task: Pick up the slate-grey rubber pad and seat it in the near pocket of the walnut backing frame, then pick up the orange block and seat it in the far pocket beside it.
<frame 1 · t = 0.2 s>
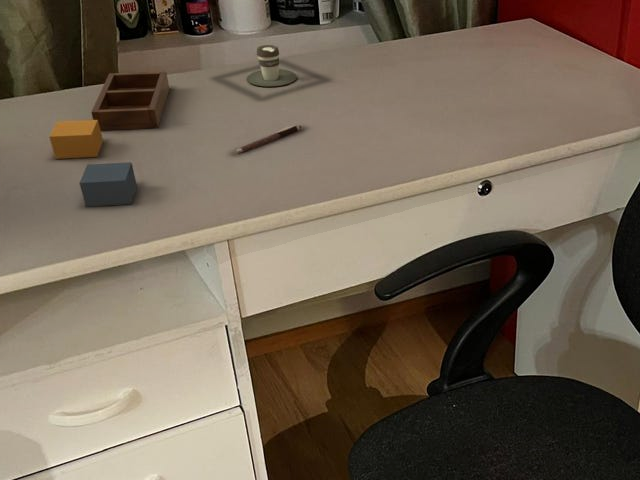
orange block: (79, 150, 112), on the table
coffee cup: (271, 80, 134), on the table
back frame: (134, 108, 123), on the table
pen: (269, 143, 116), on the table
pad grey: (112, 195, 102), on the table
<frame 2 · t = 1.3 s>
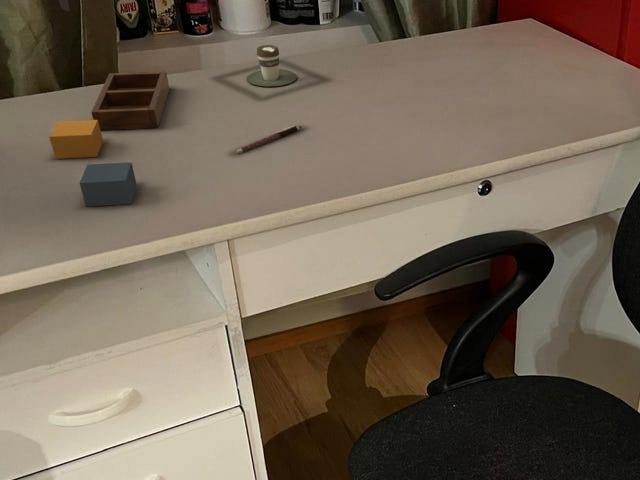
hand: (28, 18, 88), 21 cm above the table, tool pointing down, fingers open, 8 cm apart
nothing on the table moved.
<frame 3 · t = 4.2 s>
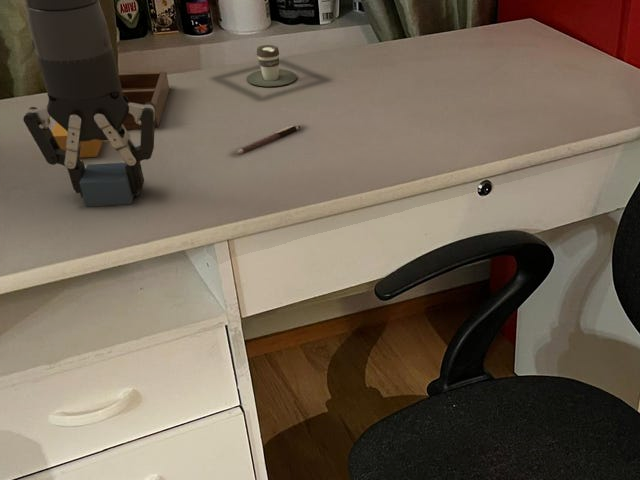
hand: (111, 192, 101), 0 cm above the table, tool pointing down, fingers closed on pad grey, 5 cm apart
pad grey: (112, 195, 102), on the table, touching gripper
everything else where it was.
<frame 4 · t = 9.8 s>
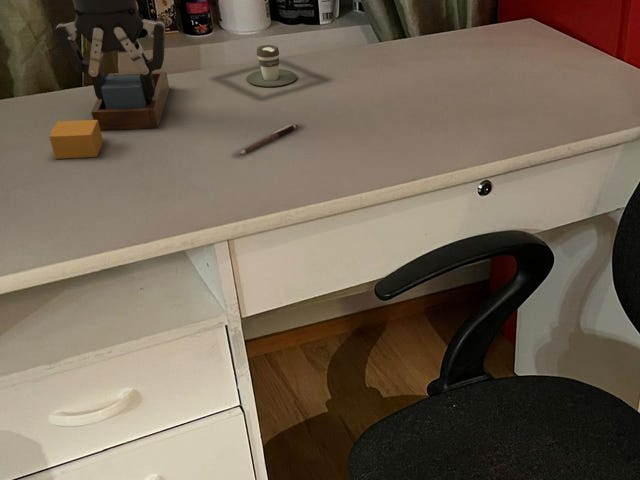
hand: (127, 99, 119), 3 cm above the table, tool pointing down, fingers closed on pad grey, 5 cm apart
pad grey: (128, 102, 119), point 2 cm above the table, touching gripper
everything else where it was.
when the fingers open (3 cm above the table, at t = 18.2 s): pad grey drops 2 cm, resting on back frame.
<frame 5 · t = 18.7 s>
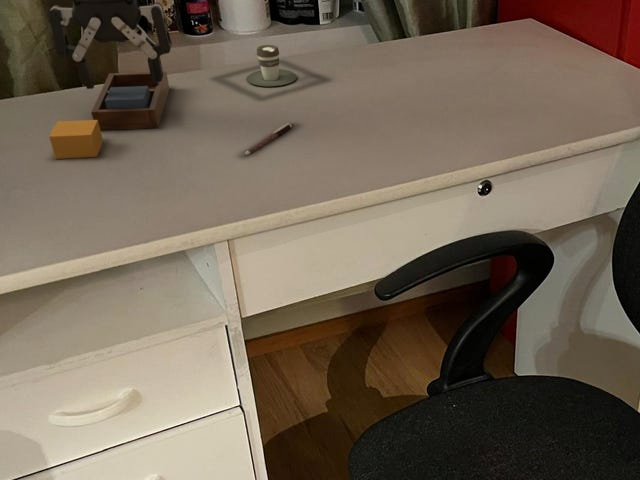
hand: (123, 85, 118), 5 cm above the table, tool pointing down, fingers open, 8 cm apart
pad grey: (131, 114, 120), point 1 cm above the table, touching back frame
everything else where it was.
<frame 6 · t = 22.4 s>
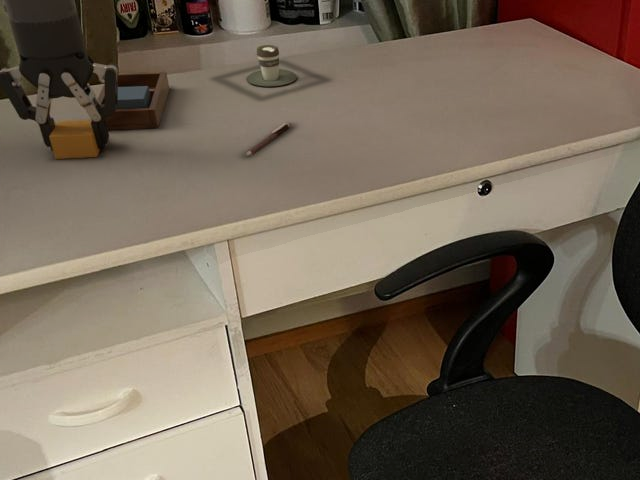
hand: (78, 147, 111), 0 cm above the table, tool pointing down, fingers closed on orange block, 5 cm apart
orange block: (80, 150, 112), on the table, touching gripper
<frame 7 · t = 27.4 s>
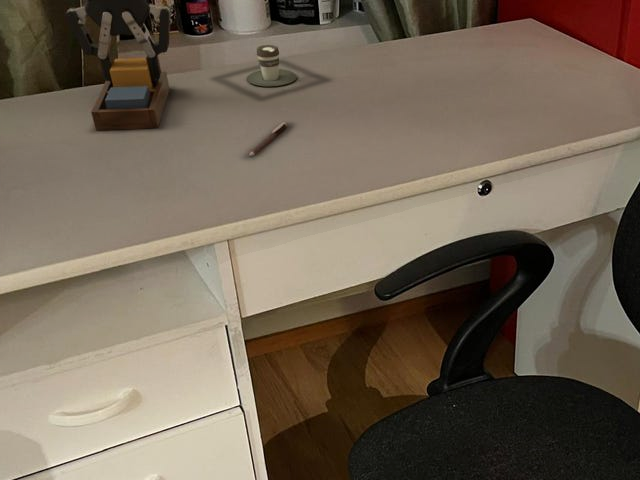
hand: (134, 81, 125), 3 cm above the table, tool pointing down, fingers closed on orange block, 5 cm apart
orange block: (135, 84, 125), point 2 cm above the table, touching gripper
when the fingers open (4 cm above the table, at t = 36.0 s): orange block drops 3 cm, resting on back frame.
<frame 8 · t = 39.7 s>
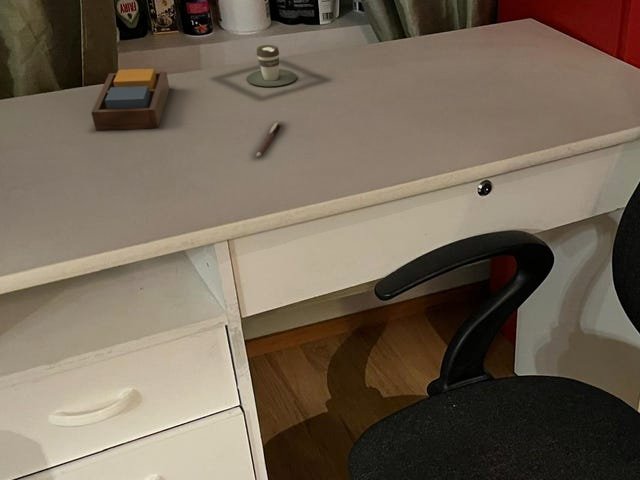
orange block: (138, 95, 126), point 1 cm above the table, touching back frame
at the end: pad grey 0.2 cm from the target spot in the back frame, point 0.6 cm above the back frame's base; orange block 0.2 cm from the target spot in the back frame, point 0.6 cm above the back frame's base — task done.
